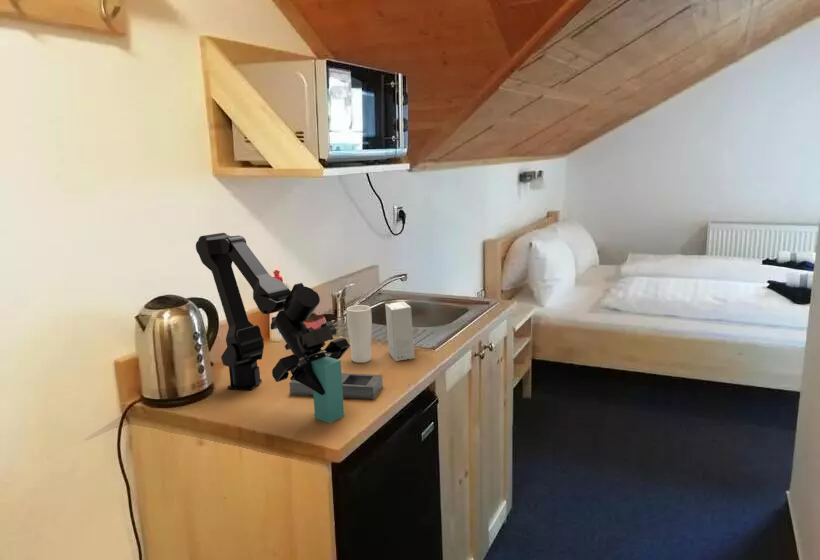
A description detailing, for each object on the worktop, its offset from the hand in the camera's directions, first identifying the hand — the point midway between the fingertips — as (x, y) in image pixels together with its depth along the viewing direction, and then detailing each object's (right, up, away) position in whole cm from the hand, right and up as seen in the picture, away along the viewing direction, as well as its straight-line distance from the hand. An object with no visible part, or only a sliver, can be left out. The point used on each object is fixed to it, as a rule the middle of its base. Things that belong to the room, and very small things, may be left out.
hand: (332, 390), depth 139 cm
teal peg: (-1, -6, +2) cm, 7 cm away
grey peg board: (-1, -3, +17) cm, 18 cm away
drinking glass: (+3, +2, +38) cm, 39 cm away
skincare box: (+14, +2, +41) cm, 43 cm away
